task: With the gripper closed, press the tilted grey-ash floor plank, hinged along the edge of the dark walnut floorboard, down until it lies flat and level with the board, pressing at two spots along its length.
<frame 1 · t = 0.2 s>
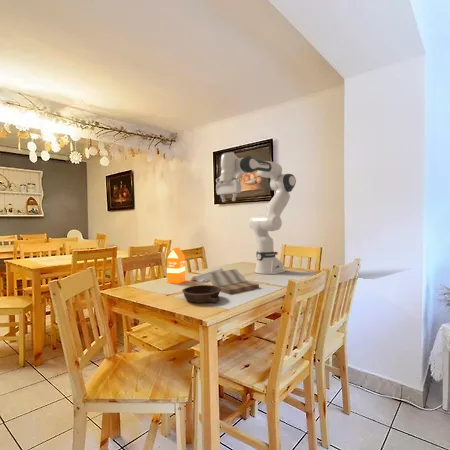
hand: (228, 201, 180), 47 cm above the table, tool pointing down, fingers open, 8 cm apart
dish: (201, 300, 136), on the table
ash plank: (227, 278, 162), point 4 cm above the table, hinge at 30.0°
crown molding: (211, 278, 188), on the table
walnut floorboard: (239, 289, 154), on the table
orange juice: (176, 281, 175), on the table
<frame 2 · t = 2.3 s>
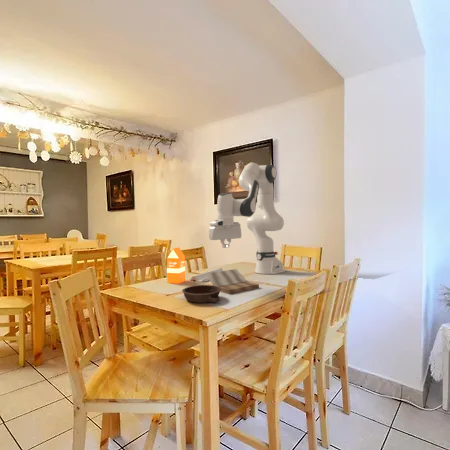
hand: (225, 247, 162), 21 cm above the table, tool pointing down, fingers closed
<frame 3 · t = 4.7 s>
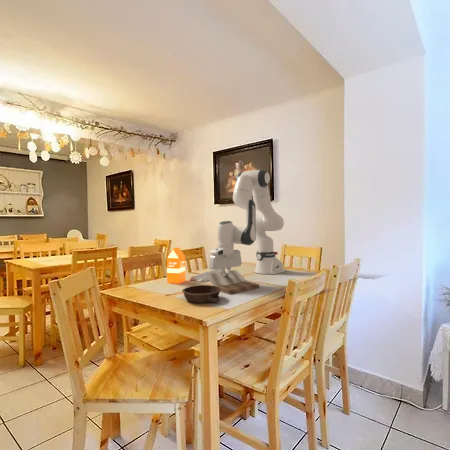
hand: (225, 275, 162), 6 cm above the table, tool pointing down, fingers closed, pressing on ash plank
ash plank: (227, 279, 162), point 4 cm above the table, hinge at 26.8°, touching gripper
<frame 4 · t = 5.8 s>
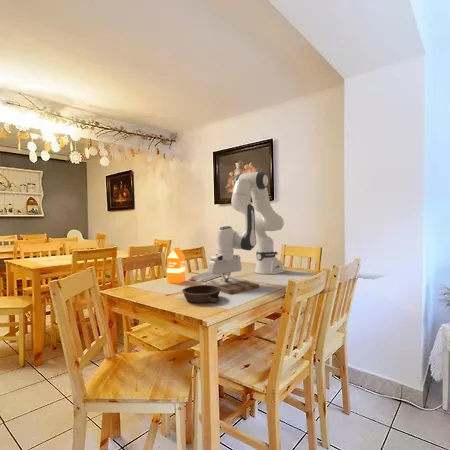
hand: (225, 281, 163), 3 cm above the table, tool pointing down, fingers closed, pressing on ash plank
ash plank: (226, 283, 162), point 2 cm above the table, hinge at 4.2°, touching gripper
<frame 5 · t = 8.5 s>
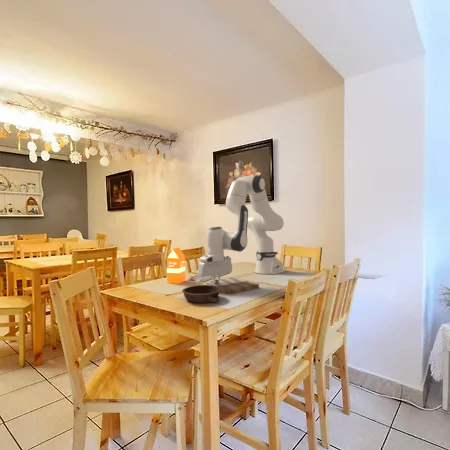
hand: (216, 282, 158), 3 cm above the table, tool pointing down, fingers closed, pressing on ash plank
ash plank: (226, 283, 162), point 1 cm above the table, hinge at 4.0°, touching gripper
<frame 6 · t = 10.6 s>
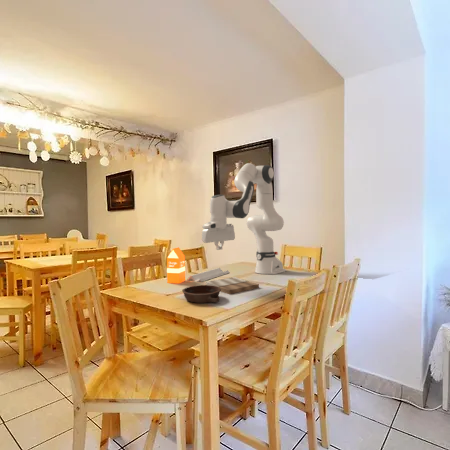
hand: (219, 249, 162), 20 cm above the table, tool pointing down, fingers closed
ash plank: (226, 283, 162), point 1 cm above the table, hinge at 3.5°
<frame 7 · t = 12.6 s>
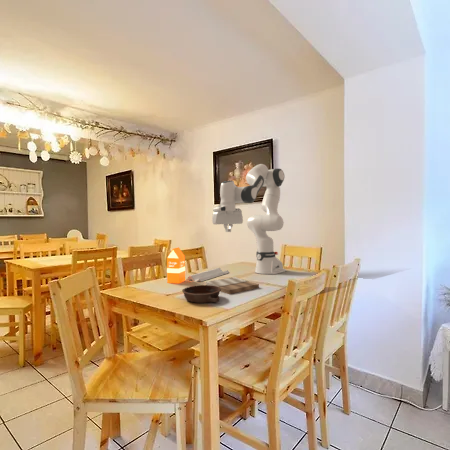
hand: (228, 231, 173), 29 cm above the table, tool pointing down, fingers closed
at the end: ash plank at +4° (first picture: +30°) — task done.
